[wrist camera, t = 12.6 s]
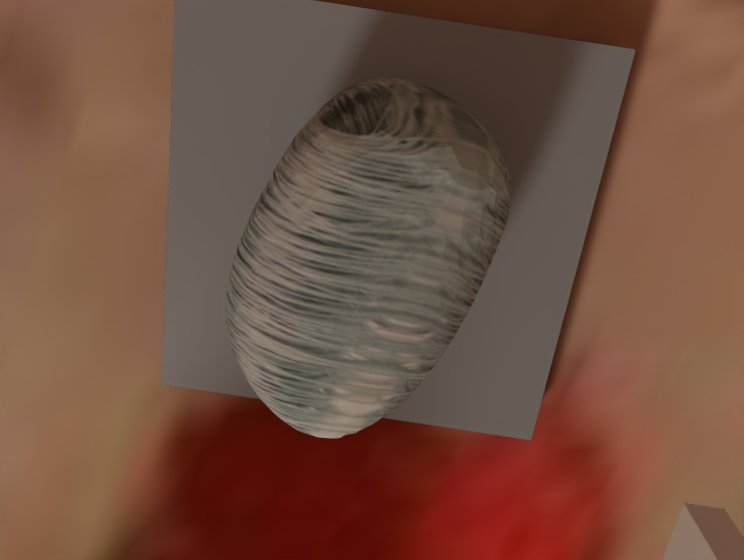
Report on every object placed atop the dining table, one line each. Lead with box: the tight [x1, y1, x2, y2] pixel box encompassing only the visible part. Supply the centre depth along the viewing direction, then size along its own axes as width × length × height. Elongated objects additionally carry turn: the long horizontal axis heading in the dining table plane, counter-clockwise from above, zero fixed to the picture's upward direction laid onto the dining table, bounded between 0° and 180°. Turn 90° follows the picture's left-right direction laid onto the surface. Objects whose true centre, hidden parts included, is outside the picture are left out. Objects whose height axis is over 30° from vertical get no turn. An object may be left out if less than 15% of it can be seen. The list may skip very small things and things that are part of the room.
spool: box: [225, 78, 512, 438], centre depth 25 cm, size 14×10×10 cm
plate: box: [162, 0, 636, 440], centre depth 30 cm, size 18×18×2 cm
